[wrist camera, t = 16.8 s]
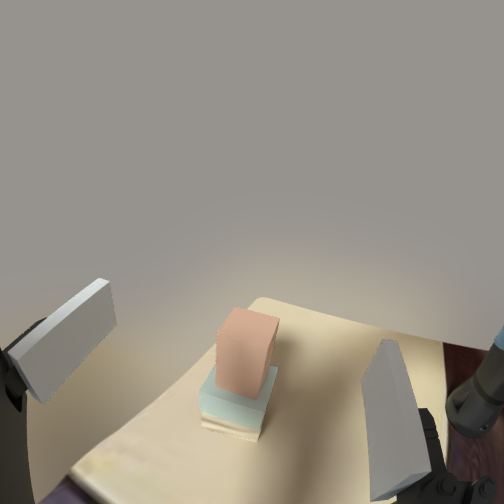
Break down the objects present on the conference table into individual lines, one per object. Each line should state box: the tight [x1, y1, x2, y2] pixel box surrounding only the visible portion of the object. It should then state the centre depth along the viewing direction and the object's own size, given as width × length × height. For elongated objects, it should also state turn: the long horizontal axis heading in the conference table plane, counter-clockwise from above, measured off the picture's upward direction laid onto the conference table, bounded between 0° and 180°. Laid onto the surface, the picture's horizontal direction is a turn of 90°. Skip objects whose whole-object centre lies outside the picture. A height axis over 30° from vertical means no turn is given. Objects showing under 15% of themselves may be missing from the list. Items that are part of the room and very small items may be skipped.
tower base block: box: [201, 412, 265, 442], centre depth 38 cm, size 9×9×5 cm
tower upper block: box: [199, 364, 279, 429], centre depth 37 cm, size 9×9×5 cm
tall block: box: [215, 307, 280, 400], centre depth 34 cm, size 6×6×10 cm
